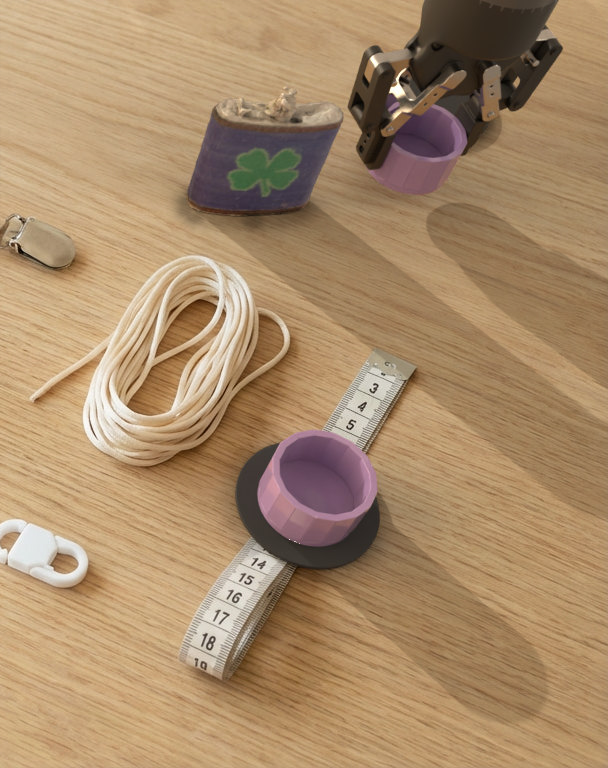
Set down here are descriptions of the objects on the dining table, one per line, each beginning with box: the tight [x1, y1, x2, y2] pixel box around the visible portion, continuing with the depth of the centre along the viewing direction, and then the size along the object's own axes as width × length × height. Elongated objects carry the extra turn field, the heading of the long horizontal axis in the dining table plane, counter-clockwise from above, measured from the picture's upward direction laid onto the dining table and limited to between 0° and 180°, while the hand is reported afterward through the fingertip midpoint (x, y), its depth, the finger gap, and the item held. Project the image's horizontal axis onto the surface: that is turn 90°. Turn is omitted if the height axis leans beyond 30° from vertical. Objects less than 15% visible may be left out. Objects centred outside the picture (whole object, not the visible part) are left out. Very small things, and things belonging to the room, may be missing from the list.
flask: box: [185, 86, 345, 217], centre depth 87 cm, size 9×3×11 cm, turn 91°
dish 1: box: [257, 429, 379, 547], centre depth 75 cm, size 6×6×4 cm
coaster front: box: [234, 442, 381, 570], centre depth 77 cm, size 9×9×1 cm
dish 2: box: [364, 102, 467, 196], centre depth 90 cm, size 6×6×4 cm
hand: (411, 154), depth 91 cm, fingers closed on dish 2, 6 cm apart
